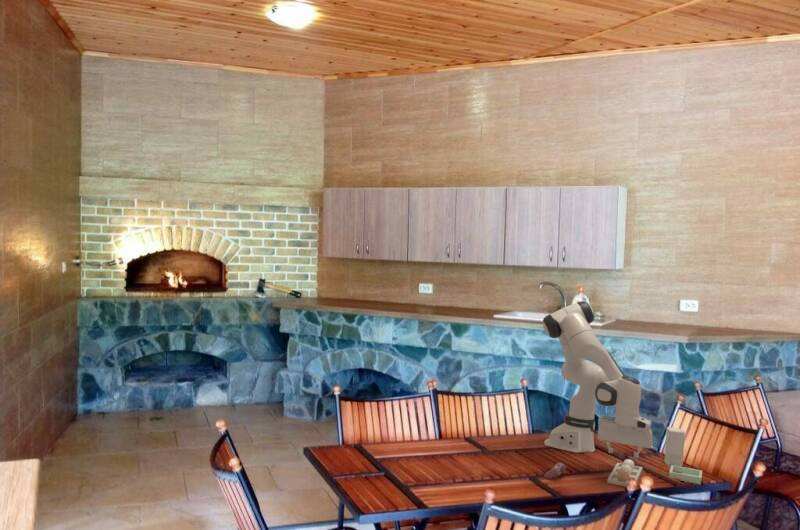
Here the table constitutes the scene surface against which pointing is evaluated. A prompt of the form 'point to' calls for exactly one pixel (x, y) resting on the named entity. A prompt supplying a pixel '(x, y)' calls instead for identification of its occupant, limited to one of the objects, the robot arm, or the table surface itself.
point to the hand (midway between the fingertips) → (623, 455)
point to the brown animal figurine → (555, 471)
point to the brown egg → (622, 476)
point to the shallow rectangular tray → (634, 474)
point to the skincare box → (674, 447)
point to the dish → (686, 474)
